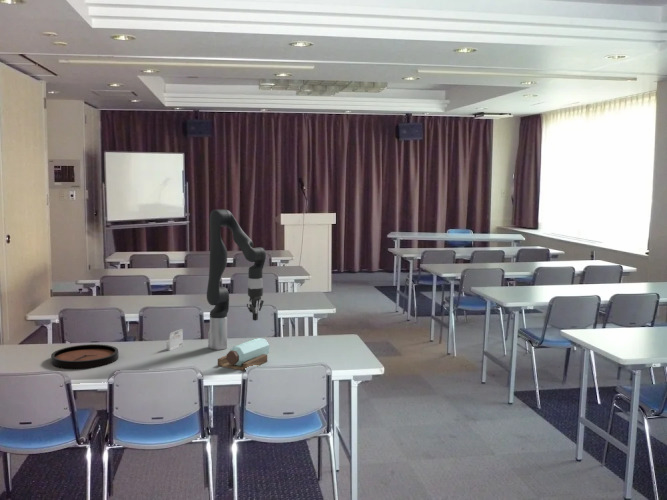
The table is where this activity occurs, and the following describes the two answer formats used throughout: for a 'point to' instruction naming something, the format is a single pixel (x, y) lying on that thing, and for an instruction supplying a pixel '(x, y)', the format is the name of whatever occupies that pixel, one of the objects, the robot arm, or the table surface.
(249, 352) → the water bottle
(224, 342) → the robot arm
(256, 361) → the cradle
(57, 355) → the wall clock
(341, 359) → the table surface
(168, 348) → the ink cartridge box
